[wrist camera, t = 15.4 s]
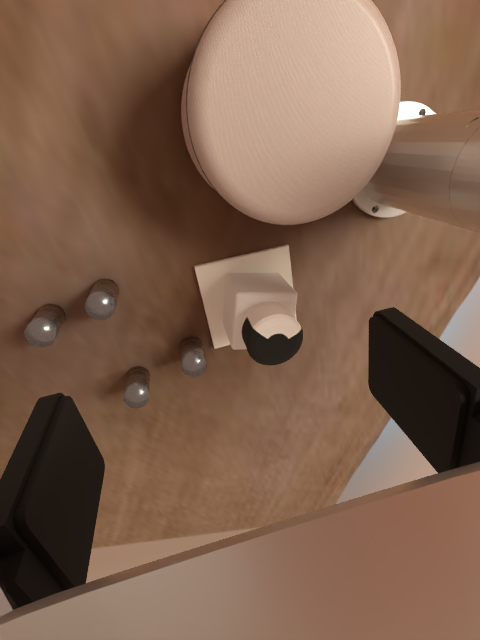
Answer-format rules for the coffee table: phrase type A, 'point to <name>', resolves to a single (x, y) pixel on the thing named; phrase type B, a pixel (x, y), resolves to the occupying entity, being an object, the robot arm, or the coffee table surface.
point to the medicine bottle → (261, 316)
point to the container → (291, 105)
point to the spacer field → (101, 308)
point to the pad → (215, 272)
